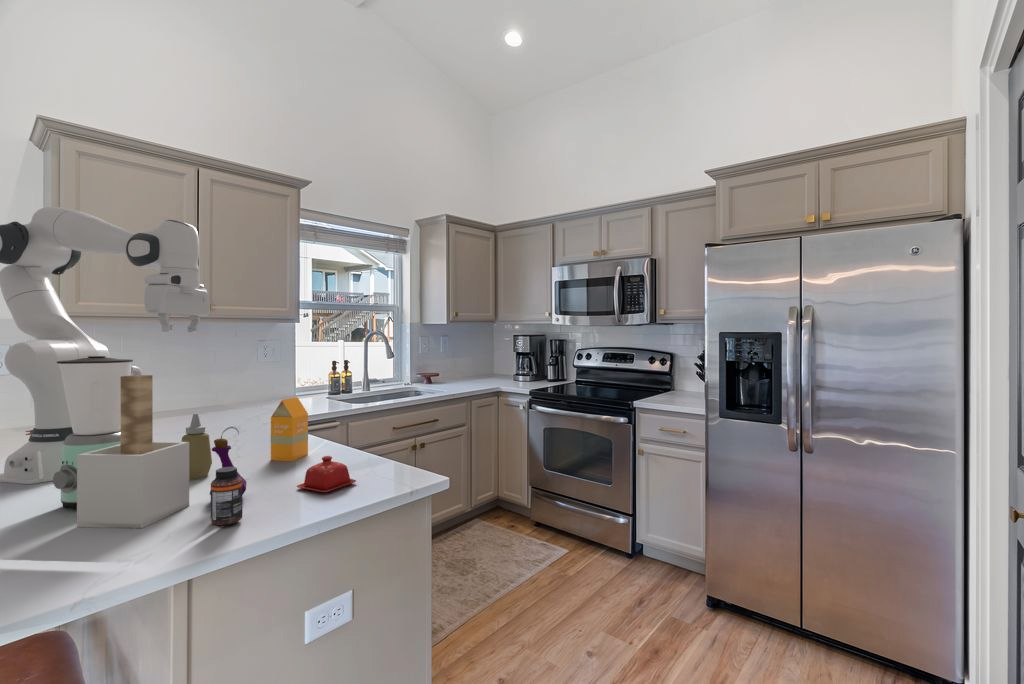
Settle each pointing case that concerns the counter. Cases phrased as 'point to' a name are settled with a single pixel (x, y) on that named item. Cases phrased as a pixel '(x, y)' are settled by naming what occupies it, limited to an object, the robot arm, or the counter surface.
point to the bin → (132, 485)
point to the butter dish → (326, 476)
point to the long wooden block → (136, 414)
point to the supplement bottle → (226, 497)
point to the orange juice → (289, 431)
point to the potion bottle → (226, 455)
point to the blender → (90, 413)
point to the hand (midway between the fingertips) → (180, 332)
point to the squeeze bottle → (198, 449)
